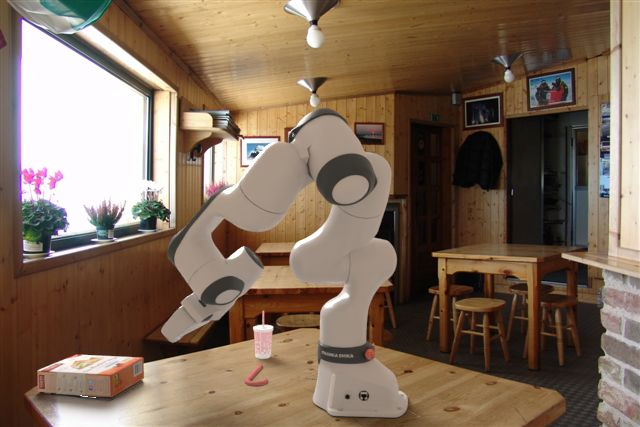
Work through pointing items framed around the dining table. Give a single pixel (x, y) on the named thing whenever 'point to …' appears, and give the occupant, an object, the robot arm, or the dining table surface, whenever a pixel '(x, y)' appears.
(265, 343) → the beverage cup
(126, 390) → the rubber mat
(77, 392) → the cracker box
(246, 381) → the candy cane
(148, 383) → the dining table surface
